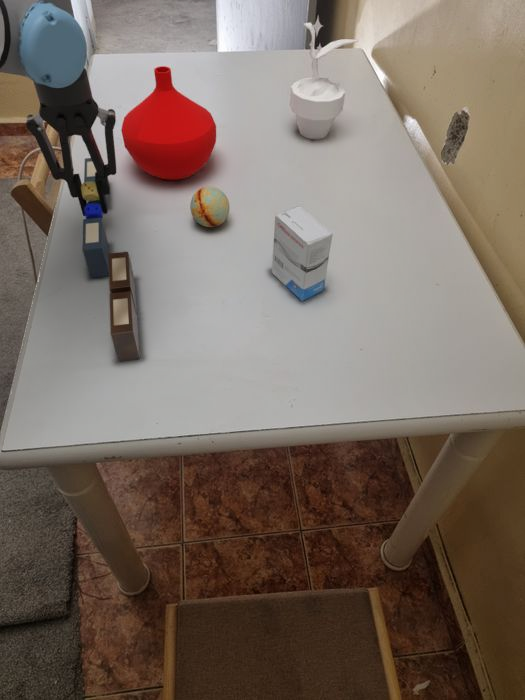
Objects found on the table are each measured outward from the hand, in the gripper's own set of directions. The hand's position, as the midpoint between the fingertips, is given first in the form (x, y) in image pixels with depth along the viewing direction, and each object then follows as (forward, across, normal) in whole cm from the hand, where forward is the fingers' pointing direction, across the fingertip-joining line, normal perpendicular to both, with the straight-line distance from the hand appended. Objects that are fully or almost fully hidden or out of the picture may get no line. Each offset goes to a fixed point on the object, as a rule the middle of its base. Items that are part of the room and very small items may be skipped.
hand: (95, 210), depth 91 cm
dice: (+1, 0, 0) cm, 1 cm away
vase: (+4, -15, -18) cm, 24 cm away
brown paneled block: (+4, -4, +24) cm, 24 cm away
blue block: (+4, 0, 0) cm, 4 cm away
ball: (+4, -20, +2) cm, 20 cm away
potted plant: (+4, -48, -27) cm, 55 cm away
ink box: (+4, -32, +20) cm, 38 cm away
